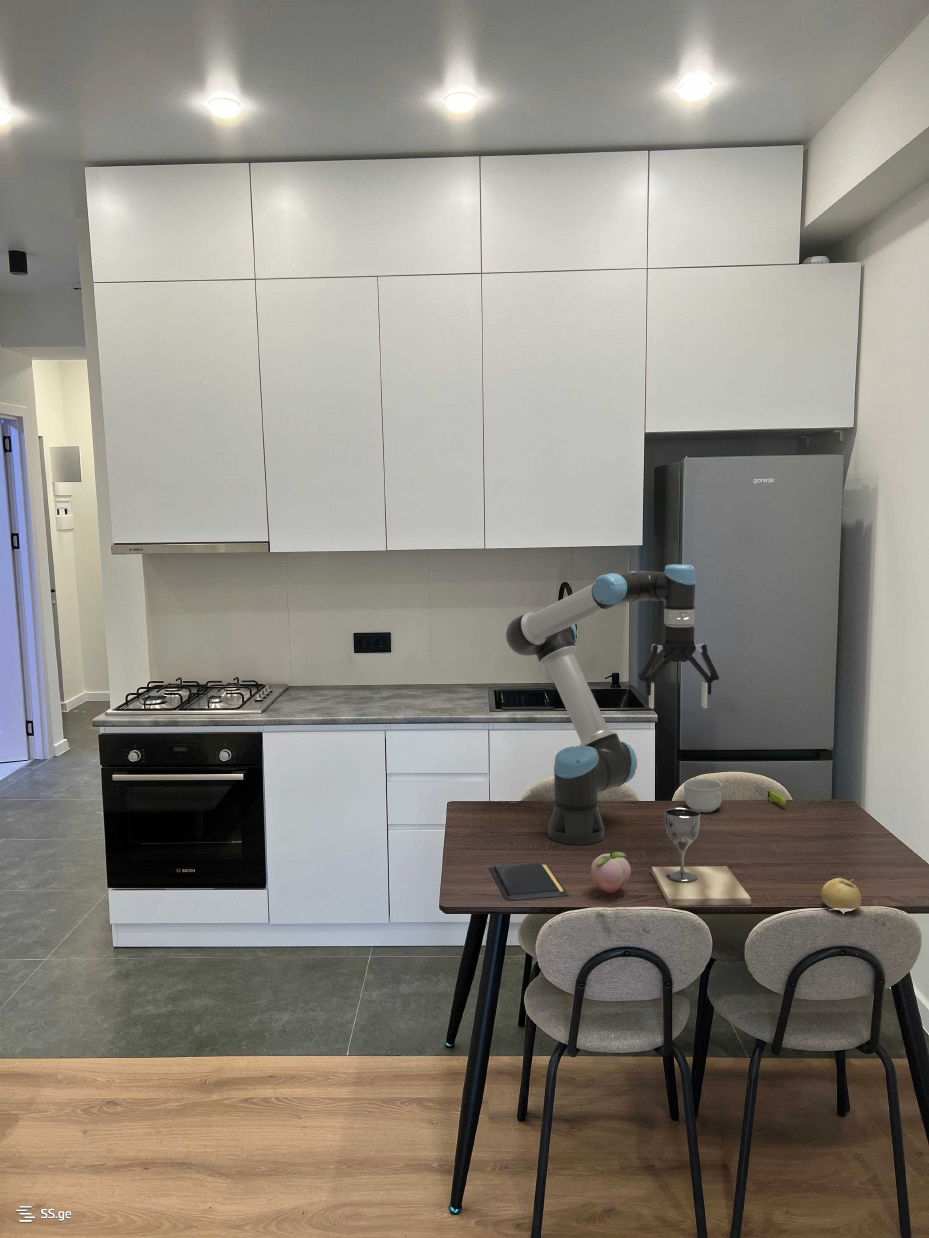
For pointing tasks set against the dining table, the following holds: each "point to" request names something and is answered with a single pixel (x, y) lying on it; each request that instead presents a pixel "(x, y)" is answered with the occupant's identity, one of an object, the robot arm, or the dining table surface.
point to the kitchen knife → (771, 795)
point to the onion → (841, 894)
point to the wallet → (527, 881)
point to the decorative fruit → (610, 871)
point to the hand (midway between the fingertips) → (677, 707)
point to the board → (701, 887)
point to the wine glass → (682, 836)
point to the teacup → (703, 794)
